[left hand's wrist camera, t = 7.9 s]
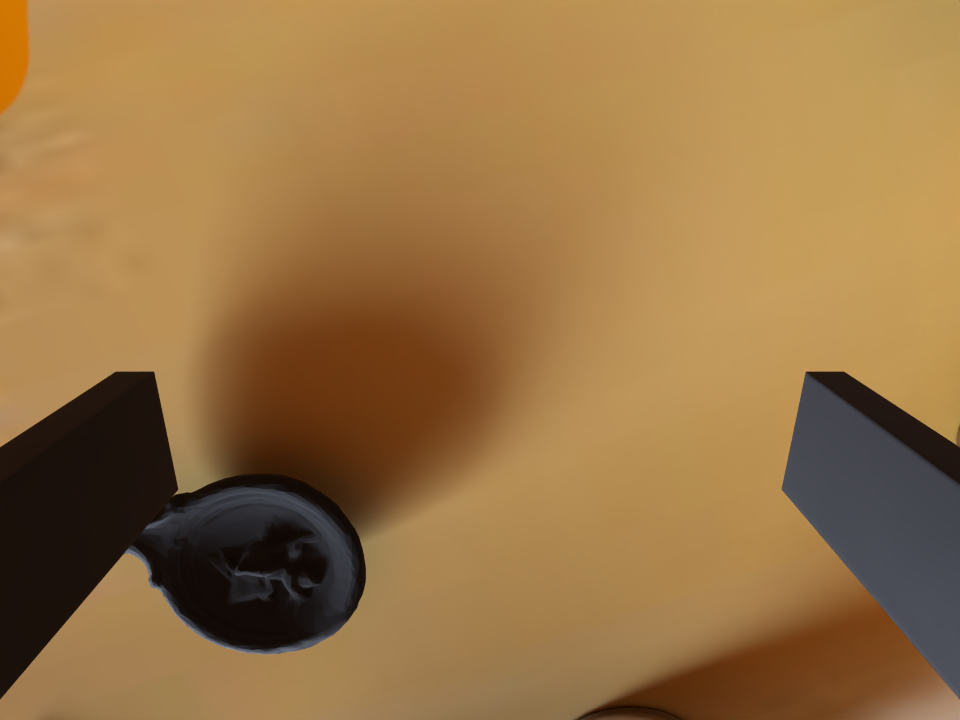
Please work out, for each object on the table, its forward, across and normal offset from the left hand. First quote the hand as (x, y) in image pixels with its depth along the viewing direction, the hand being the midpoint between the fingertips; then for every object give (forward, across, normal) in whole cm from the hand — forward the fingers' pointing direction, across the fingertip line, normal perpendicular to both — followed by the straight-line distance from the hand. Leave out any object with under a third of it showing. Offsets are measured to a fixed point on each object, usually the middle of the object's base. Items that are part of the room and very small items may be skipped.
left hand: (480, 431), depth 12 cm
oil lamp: (+28, +18, +22) cm, 40 cm away
